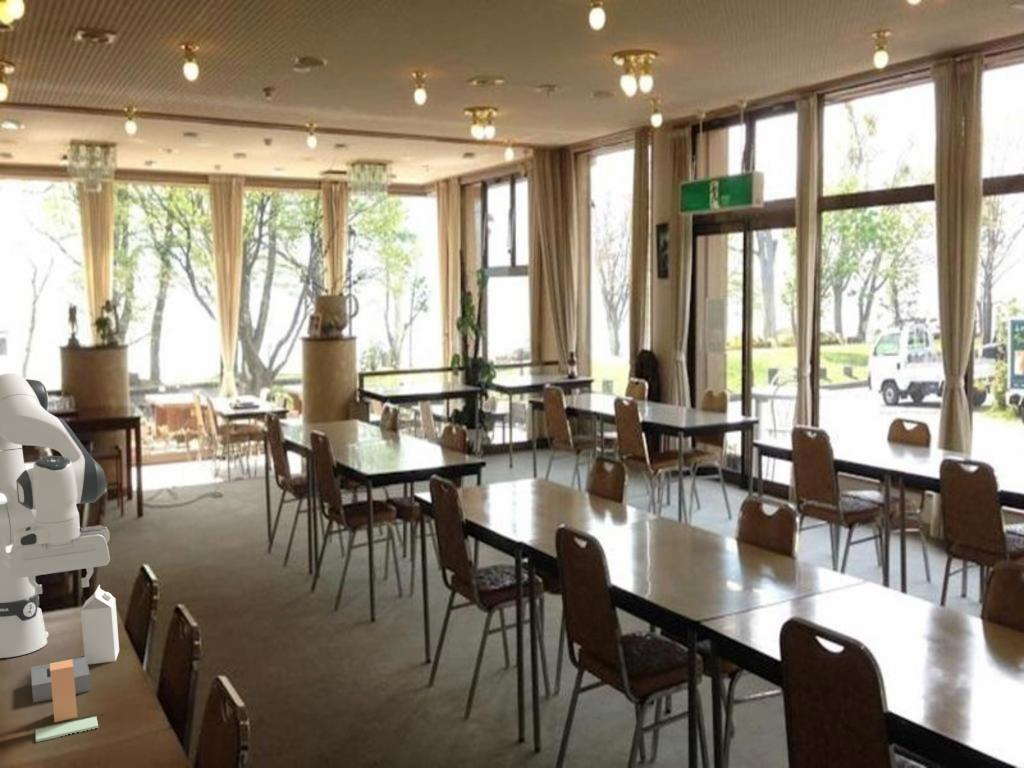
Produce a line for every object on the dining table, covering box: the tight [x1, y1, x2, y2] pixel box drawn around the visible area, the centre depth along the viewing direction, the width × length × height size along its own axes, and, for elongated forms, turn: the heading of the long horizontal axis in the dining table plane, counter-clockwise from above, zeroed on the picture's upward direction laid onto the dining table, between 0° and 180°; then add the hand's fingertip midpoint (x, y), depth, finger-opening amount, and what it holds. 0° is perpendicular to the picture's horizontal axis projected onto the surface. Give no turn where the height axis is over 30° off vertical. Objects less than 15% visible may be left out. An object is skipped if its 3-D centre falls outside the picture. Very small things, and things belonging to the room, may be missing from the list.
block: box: [49, 658, 78, 724], centre depth 203 cm, size 4×4×12 cm
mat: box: [34, 714, 99, 743], centre depth 203 cm, size 16×12×1 cm
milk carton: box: [80, 584, 120, 665], centre depth 234 cm, size 7×7×19 cm
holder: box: [30, 656, 92, 704], centre depth 218 cm, size 12×12×5 cm
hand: (62, 590), depth 207 cm, fingers open, 8 cm apart
